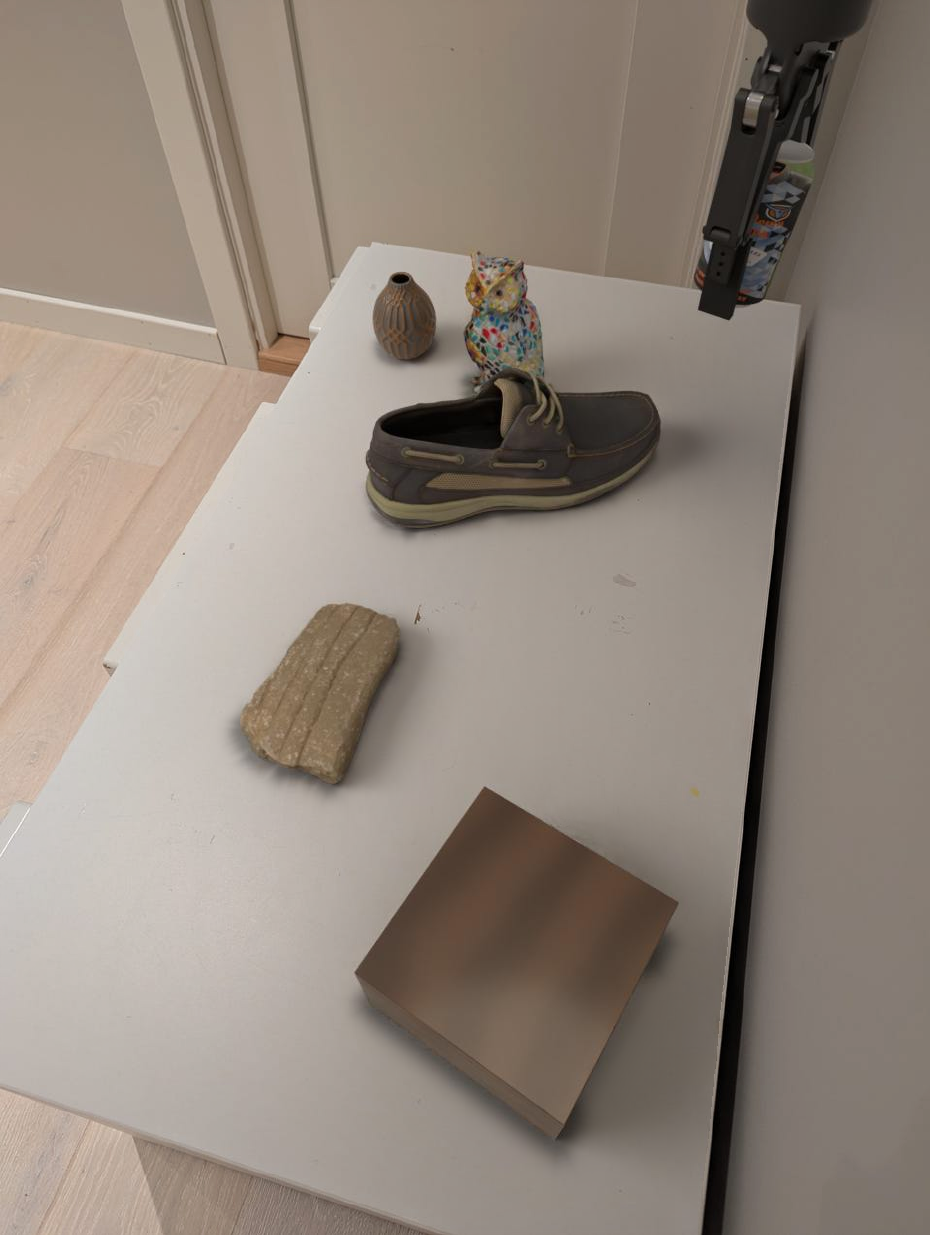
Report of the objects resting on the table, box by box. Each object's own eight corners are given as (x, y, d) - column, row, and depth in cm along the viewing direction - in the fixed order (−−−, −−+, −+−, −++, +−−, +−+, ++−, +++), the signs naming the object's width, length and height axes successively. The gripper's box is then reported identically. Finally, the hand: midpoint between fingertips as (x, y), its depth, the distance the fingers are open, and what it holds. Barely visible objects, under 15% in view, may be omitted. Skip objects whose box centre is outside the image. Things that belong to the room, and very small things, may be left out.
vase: (386, 326, 99) (378, 255, 92) (444, 334, 98) (441, 263, 91) (368, 363, 95) (358, 292, 88) (428, 372, 94) (423, 301, 87)
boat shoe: (678, 480, 84) (700, 392, 75) (390, 561, 79) (378, 477, 70) (628, 410, 90) (644, 321, 81) (358, 481, 85) (343, 394, 76)
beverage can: (675, 295, 71) (704, 145, 62) (732, 261, 74) (769, 113, 64) (735, 329, 68) (776, 178, 59) (792, 293, 71) (840, 142, 61)
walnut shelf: (658, 939, 59) (679, 902, 52) (554, 1140, 52) (564, 1125, 45) (484, 832, 63) (484, 785, 57) (369, 1003, 57) (353, 972, 50)
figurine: (469, 420, 90) (466, 291, 77) (461, 365, 95) (457, 236, 83) (551, 413, 90) (561, 284, 78) (539, 359, 95) (546, 230, 83)
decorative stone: (412, 633, 74) (409, 608, 71) (341, 794, 65) (334, 774, 62) (307, 605, 76) (300, 580, 73) (224, 758, 67) (213, 737, 64)
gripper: (822, -106, 58) (742, 220, 77) (694, -9, 49) (637, 337, 67) (934, -89, 56) (824, 244, 74) (823, 17, 46) (727, 370, 65)
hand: (735, 288), depth 71 cm, fingers closed on beverage can, 7 cm apart
